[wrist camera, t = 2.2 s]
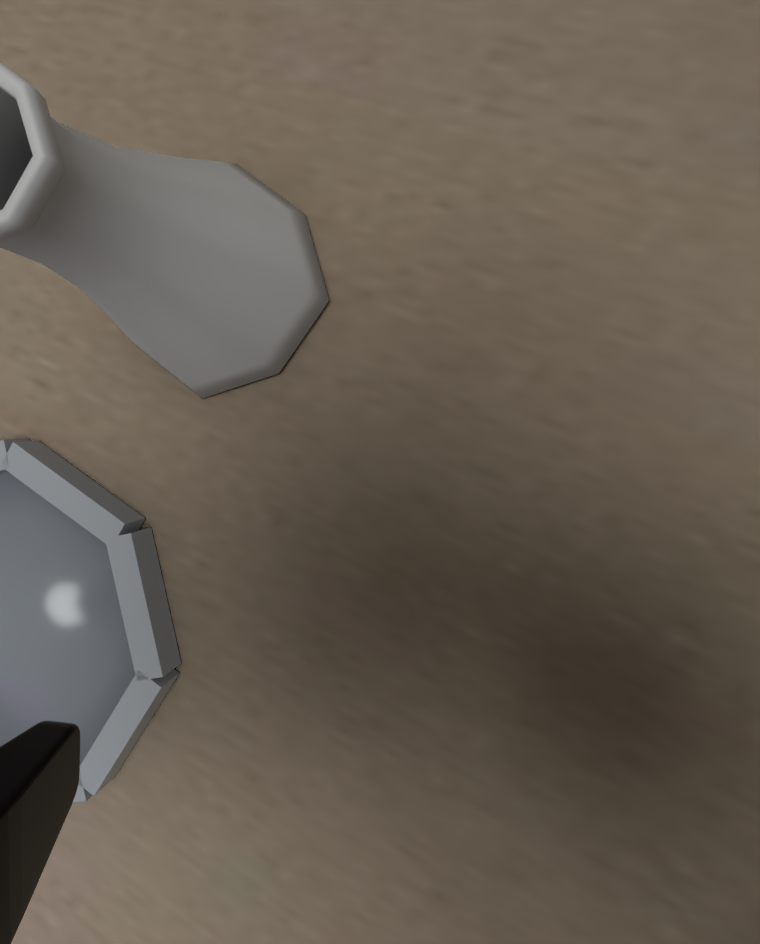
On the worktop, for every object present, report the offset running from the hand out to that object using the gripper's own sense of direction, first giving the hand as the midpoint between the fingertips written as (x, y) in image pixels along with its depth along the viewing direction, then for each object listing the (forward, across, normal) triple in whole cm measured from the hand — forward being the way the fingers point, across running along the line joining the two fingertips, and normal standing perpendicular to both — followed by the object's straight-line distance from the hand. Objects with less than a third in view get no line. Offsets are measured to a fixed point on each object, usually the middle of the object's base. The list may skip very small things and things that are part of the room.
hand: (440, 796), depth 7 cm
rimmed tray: (+14, +13, +8) cm, 21 cm away
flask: (+15, +7, -5) cm, 17 cm away
